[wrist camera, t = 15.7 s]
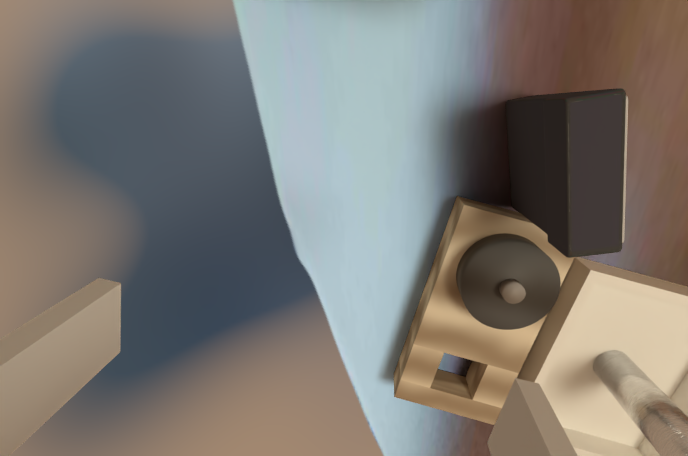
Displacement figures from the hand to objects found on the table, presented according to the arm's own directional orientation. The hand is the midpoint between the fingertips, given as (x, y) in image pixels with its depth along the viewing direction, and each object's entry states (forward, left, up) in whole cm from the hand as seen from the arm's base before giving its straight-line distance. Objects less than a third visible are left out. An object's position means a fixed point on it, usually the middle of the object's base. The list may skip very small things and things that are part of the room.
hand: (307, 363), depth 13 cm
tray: (+12, +33, -31) cm, 47 cm away
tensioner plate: (+10, +16, -31) cm, 37 cm away
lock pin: (+13, +33, -30) cm, 46 cm away
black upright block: (-8, +15, -31) cm, 36 cm away
